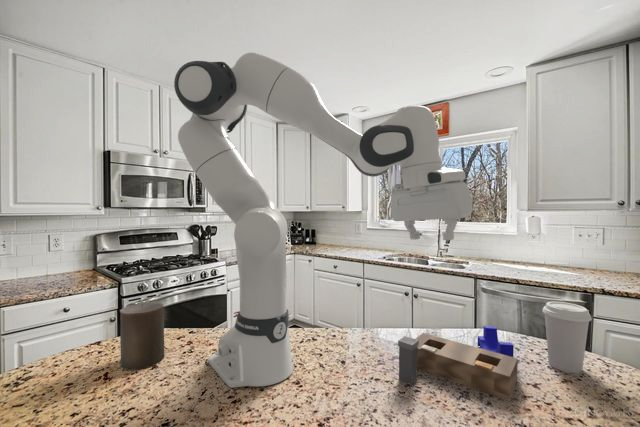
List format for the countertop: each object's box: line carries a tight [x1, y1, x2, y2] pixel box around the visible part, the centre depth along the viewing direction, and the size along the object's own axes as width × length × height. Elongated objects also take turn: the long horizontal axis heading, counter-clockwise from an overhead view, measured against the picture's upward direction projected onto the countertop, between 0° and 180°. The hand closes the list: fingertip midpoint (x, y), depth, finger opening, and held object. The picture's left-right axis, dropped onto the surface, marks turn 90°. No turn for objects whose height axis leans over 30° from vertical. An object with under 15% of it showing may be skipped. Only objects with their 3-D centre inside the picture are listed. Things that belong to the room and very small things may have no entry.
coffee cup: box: [542, 301, 593, 374], centre depth 76 cm, size 10×10×15 cm
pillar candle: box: [119, 301, 165, 371], centre depth 78 cm, size 10×10×15 cm
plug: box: [397, 335, 419, 386], centre depth 70 cm, size 3×3×9 cm
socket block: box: [415, 332, 519, 402], centre depth 73 cm, size 22×10×5 cm, turn 50°
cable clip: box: [477, 325, 514, 357], centre depth 81 cm, size 12×4×6 cm, turn 170°
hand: (431, 239), depth 70 cm, fingers open, 8 cm apart
